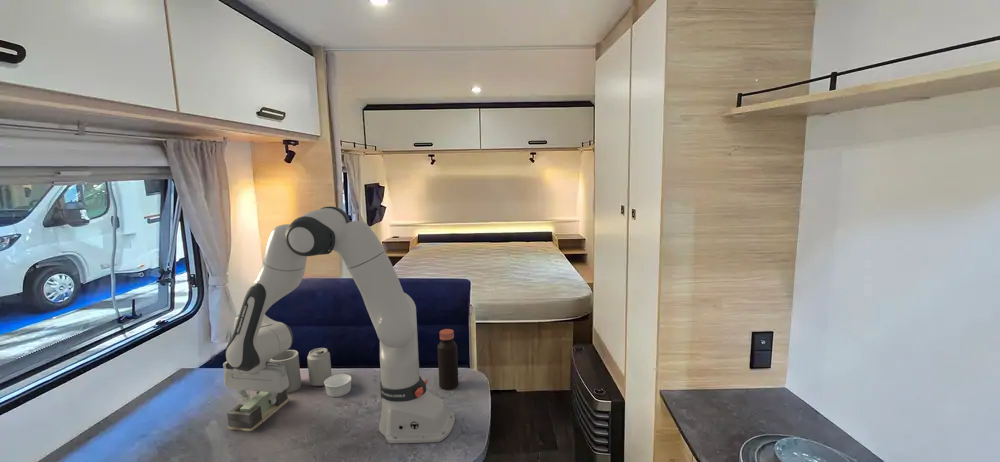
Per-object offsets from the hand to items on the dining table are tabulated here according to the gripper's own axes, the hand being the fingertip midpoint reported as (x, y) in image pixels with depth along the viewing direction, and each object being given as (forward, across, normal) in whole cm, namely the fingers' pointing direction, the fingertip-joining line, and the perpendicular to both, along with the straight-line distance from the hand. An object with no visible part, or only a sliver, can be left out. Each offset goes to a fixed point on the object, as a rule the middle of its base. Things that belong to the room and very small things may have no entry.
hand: (259, 402), depth 136 cm
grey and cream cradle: (+4, 0, 0) cm, 4 cm away
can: (+4, -7, -21) cm, 23 cm away
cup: (+4, +3, -16) cm, 17 cm away
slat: (+3, 0, 0) cm, 3 cm away
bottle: (+4, -54, -26) cm, 60 cm away
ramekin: (+4, -17, -16) cm, 24 cm away
